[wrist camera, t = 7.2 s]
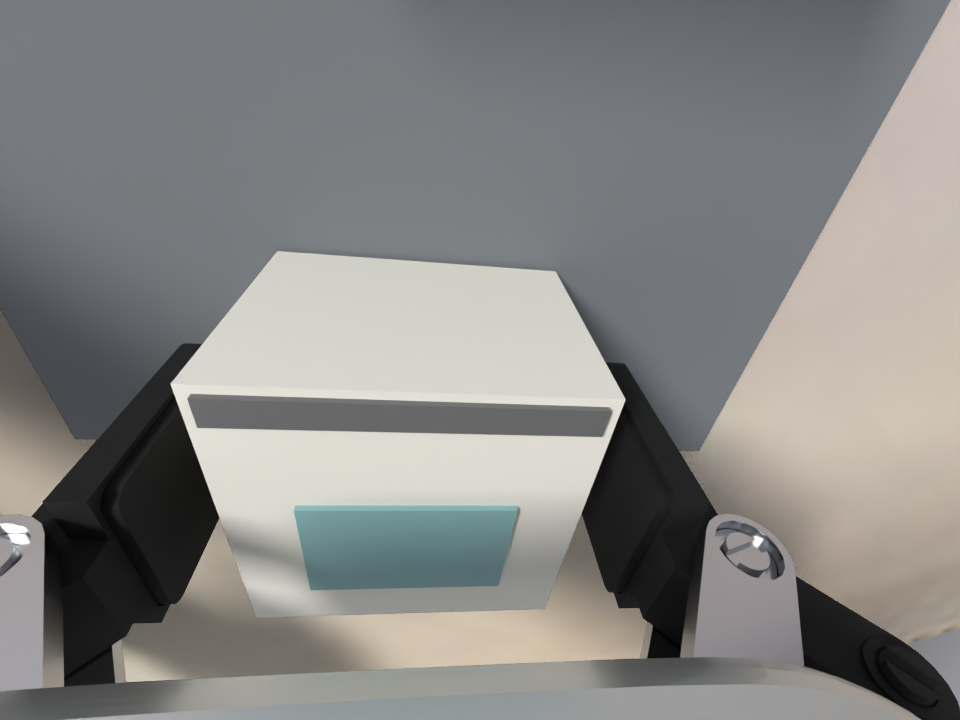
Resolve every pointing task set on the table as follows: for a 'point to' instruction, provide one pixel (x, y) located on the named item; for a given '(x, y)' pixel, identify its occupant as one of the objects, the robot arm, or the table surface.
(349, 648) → the table surface
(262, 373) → the white box
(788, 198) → the mat
